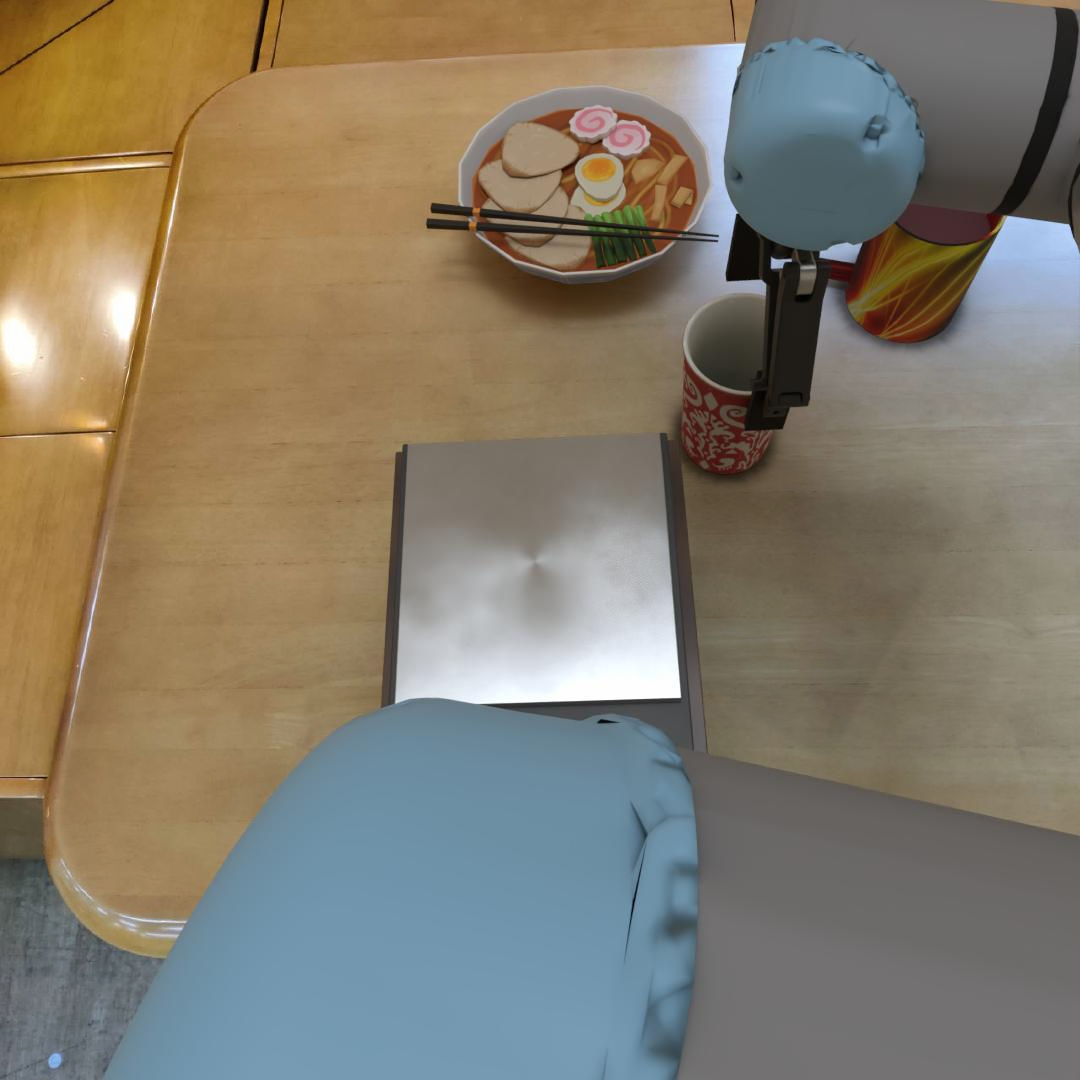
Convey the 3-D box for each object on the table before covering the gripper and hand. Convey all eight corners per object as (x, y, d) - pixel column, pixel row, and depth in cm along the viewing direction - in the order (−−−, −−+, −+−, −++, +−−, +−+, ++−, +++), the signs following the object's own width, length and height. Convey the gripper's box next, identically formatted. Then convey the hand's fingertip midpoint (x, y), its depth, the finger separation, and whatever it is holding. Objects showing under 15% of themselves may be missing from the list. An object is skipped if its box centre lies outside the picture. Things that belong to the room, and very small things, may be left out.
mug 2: (787, 274, 86) (814, 173, 75) (933, 249, 86) (982, 144, 75) (817, 359, 82) (851, 265, 71) (971, 332, 82) (1028, 234, 71)
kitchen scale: (691, 778, 50) (697, 766, 46) (394, 787, 50) (380, 775, 47) (664, 453, 58) (668, 424, 55) (410, 464, 59) (399, 436, 56)
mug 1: (745, 504, 76) (773, 415, 64) (650, 453, 79) (659, 358, 66) (817, 394, 80) (856, 290, 68) (724, 349, 83) (746, 241, 70)
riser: (684, 840, 65) (712, 797, 49) (430, 846, 66) (374, 806, 50) (662, 555, 75) (679, 439, 58) (439, 563, 75) (395, 451, 59)
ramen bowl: (727, 157, 92) (738, 85, 85) (703, 344, 83) (713, 282, 76) (481, 137, 95) (471, 67, 88) (432, 315, 86) (416, 253, 79)
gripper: (718, -30, 56) (689, 224, 75) (767, 301, 46) (718, 497, 65) (844, -39, 56) (782, 218, 75) (922, 293, 45) (827, 493, 65)
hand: (752, 348), depth 70 cm, fingers open, 13 cm apart
